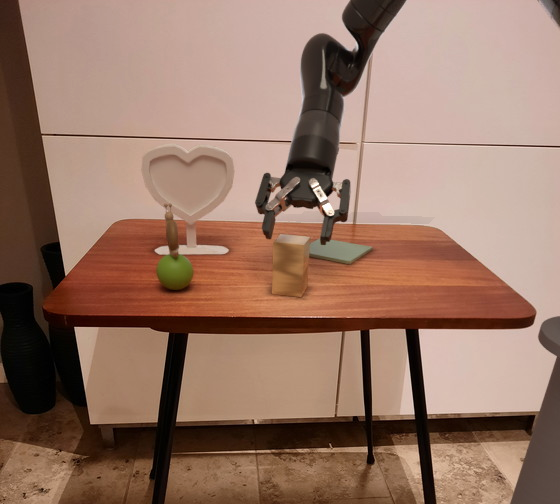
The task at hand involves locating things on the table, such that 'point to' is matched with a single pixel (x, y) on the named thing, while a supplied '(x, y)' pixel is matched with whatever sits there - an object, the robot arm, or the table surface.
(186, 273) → the green ball with handle
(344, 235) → the table surface
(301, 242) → the birch block
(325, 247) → the square tile
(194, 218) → the heart sculpture
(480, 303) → the table surface
